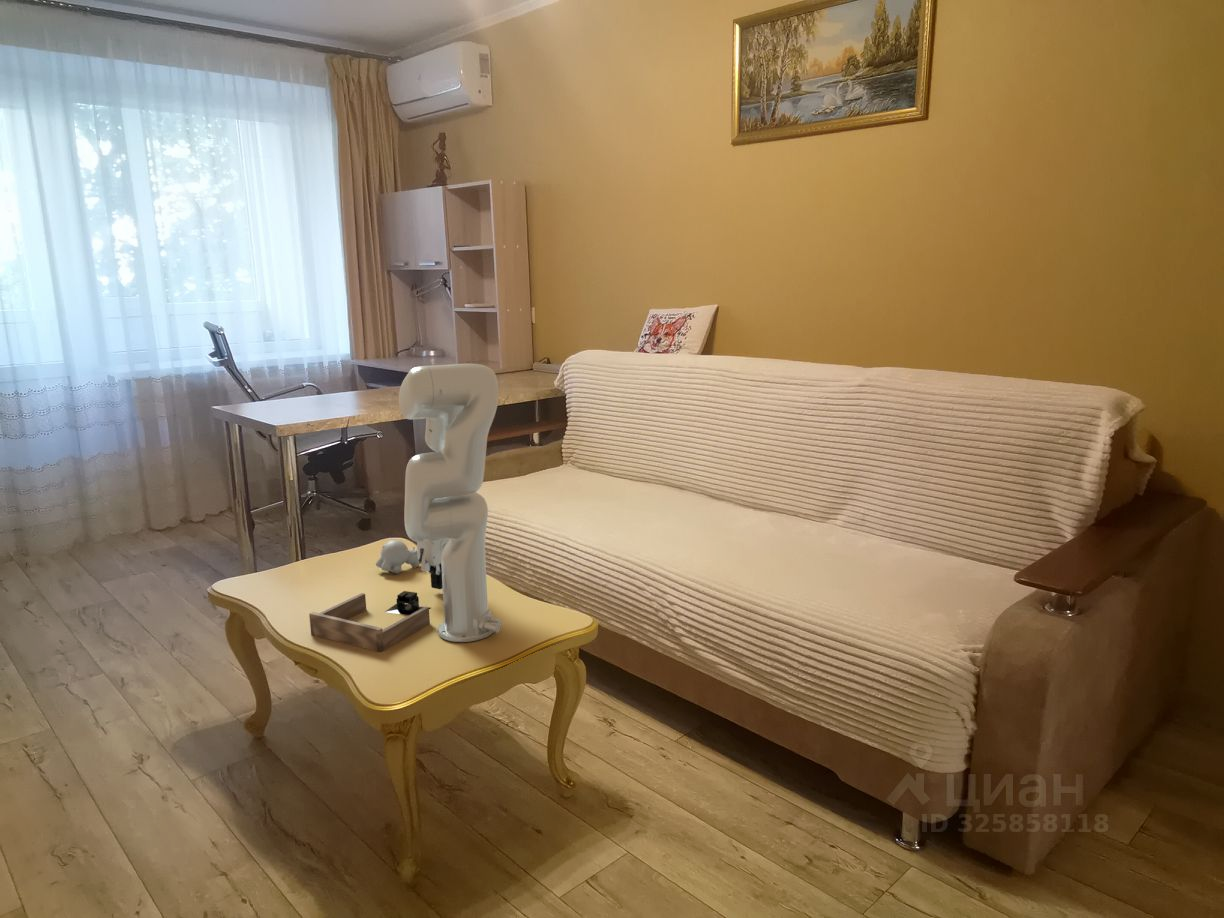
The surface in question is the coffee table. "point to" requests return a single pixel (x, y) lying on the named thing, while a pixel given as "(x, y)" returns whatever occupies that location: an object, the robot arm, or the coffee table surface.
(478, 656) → the coffee table surface
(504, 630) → the coffee table surface
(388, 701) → the coffee table surface
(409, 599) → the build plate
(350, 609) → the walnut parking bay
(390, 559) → the white animal figurine
